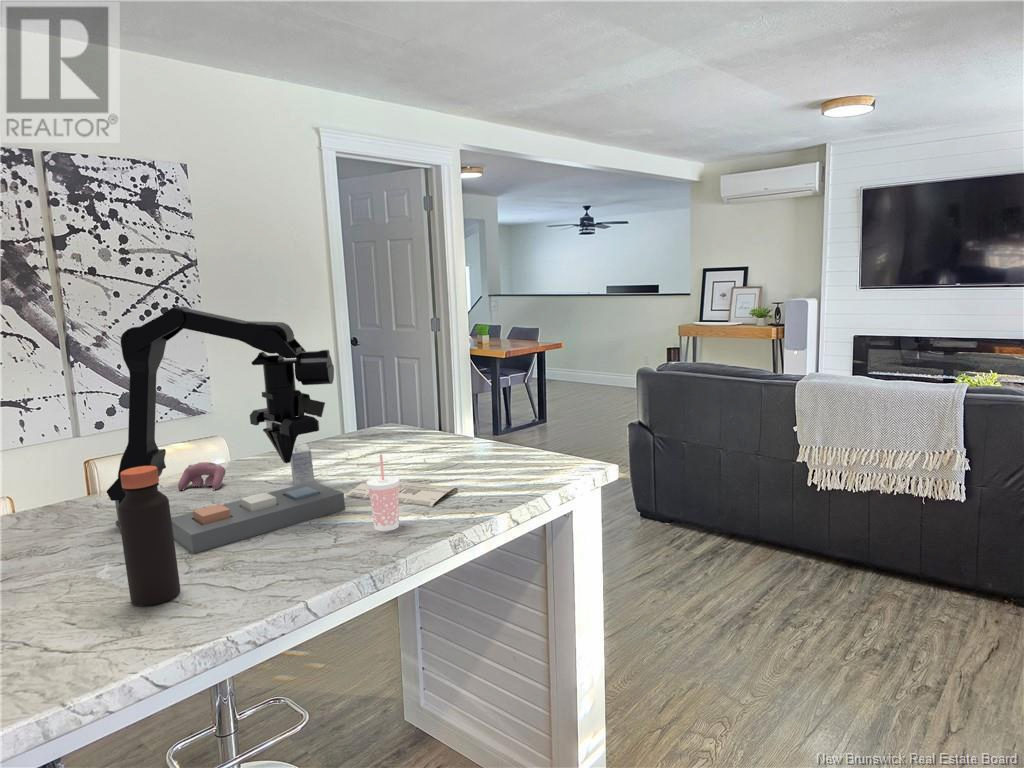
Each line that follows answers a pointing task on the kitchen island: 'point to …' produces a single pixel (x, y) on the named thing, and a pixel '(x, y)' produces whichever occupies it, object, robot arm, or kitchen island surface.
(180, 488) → the video game controller
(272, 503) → the offwhite key
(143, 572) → the bottle
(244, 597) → the kitchen island surface
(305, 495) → the slate blue key
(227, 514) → the terracotta key
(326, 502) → the key panel
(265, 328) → the robot arm
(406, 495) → the newspaper
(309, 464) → the medicine box
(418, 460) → the kitchen island surface
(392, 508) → the beverage cup
